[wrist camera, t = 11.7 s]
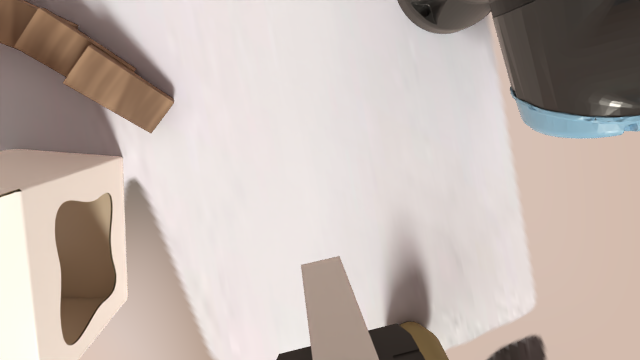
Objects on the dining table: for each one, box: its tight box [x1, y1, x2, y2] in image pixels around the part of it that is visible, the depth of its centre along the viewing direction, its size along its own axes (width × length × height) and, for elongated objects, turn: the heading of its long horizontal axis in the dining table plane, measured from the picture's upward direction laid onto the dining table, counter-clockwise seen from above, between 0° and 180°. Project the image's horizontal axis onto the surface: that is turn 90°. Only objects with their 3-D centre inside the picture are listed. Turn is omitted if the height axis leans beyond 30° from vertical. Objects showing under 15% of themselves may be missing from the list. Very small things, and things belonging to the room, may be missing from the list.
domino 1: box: [0, 0, 79, 49], centre depth 35 cm, size 2×5×10 cm
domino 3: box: [63, 44, 174, 133], centre depth 38 cm, size 2×5×10 cm
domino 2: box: [14, 8, 136, 77], centre depth 37 cm, size 2×5×10 cm
